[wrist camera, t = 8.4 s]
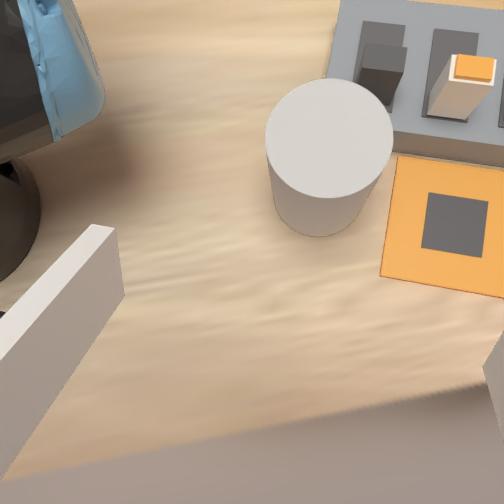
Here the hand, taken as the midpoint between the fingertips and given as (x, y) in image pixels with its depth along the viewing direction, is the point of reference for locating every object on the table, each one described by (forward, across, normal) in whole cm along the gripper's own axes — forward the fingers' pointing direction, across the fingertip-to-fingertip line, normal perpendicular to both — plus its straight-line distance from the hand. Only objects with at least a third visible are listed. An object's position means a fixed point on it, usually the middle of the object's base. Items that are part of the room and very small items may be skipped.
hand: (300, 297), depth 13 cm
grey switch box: (+34, +9, -2) cm, 35 cm away
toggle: (+28, +9, -1) cm, 29 cm away
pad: (+25, +12, -11) cm, 30 cm away
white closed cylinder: (+26, 0, -10) cm, 28 cm away
